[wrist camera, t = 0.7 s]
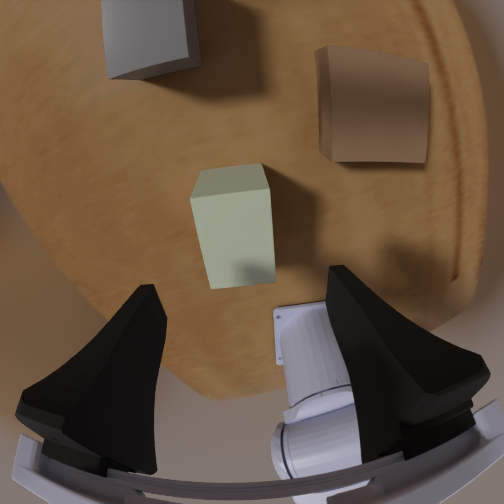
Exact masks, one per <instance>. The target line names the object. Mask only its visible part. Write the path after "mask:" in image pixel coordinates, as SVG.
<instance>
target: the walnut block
mask: <svg viewBox="0 0 504 504" xmlns="http://www.w3.org/2000/svg"><path fill="white" fill-rule="evenodd" d="M315 63H316V76H317V92H318V113H319V149H320V152H321V153H322V154H323V155H324V156H326V157H327V158H328V159H329V160H330V161H332V162H358V161H373V162H412V163H425V161H426V152H427V140H428V126H429V64H427V63H424V62H420V61H416V60H413V59H409V58H404V57H400V56H396V55H391V54H386V53H381V52H375V51H369V50H362V49H355V48H347V47H337V46H326V47H323V48H321V49H319V50H316V51H315Z"/></svg>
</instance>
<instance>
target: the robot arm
mask: <svg viewBox="0 0 504 504" xmlns="http://www.w3.org/2000/svg"><path fill="white" fill-rule="evenodd" d="M273 316H274V332H275V349H276V363H277V365H283V366H284V373H285V379H286V386H287V393H288V399H289V407H290V409H288V410H285V411H283V414H284V422H281V423H279V424H278V425H277V427H276V429H275V431H274V433H273V436H272V440H271V454H272V459H273V464H274V467H275V469H276V471H277V473H278V475H279V477H280V478H281V479H282V480H276V481H265V482H249V483H205V482H189V481H178V480H169V479H161V478H155V477H147V476H142V475H137V474H131V473H128V472H132V473H142V474H148V475H152V474H154V473H155V472H156V471H157V464H156V454H155V441H154V404H155V390H156V383H157V377H158V372H159V368H160V363H161V358H162V353H163V349H164V344H165V339H166V329H167V316H166V314H165V311H164V309H163V306H162V304H161V302H160V299H159V297H158V294H157V292H156V289H155V287H154V284H146V285H140V286H139V287H138V288H137V289H136V290H135V291H134V293H133V294H132V295H131V296H130V297H129V298H128V300H127V301H126V302H125V303H124V304H123V306H122V307H121V308H120V309H119V310H118V311H117V313H116V314H115V315H114V316H113V317H112V318H111V320H110V321H109V322H108V323H107V324H106V325H105V326H104V327H103V328H102V330H101V331H100V332H99V333H98V334H97V335H96V336H95V337H94V338H93V339H92V340H91V341H90V342H89V343H88V344H87V345H86V346H85V347H84V348H83V349H82V350H81V351H79V352H78V353H77V354H76V355H75V356H74V357H72V358H71V359H70V360H69V361H67V362H66V363H65V364H64V365H63V366H61V367H60V368H59V369H57V370H56V371H54V372H53V373H51V374H50V375H49V376H47V377H46V378H44V379H42V380H41V381H39V382H37V383H36V384H34V385H32V386H30V387H28V388H27V389H25V390H23V392H22V395H21V398H20V401H19V404H18V407H17V410H16V413H15V416H16V418H17V419H18V420H19V421H20V422H21V423H23V424H24V425H26V426H27V427H28V428H30V429H31V430H32V431H34V432H35V433H37V434H38V435H40V436H41V437H43V438H44V443H41V442H39V441H37V440H35V439H33V438H31V437H29V436H27V435H24V434H21V436H20V440H19V443H18V447H17V452H16V456H15V461H14V466H13V471H12V479H13V480H15V481H16V482H18V483H19V484H21V485H22V486H24V487H25V488H27V489H28V490H30V491H31V492H33V493H34V494H36V495H37V496H39V497H40V498H42V499H44V500H45V501H47V502H48V503H50V504H180V503H174V502H169V501H164V500H158V499H153V498H147V497H146V496H145V494H144V493H143V492H147V493H153V494H158V495H165V496H173V497H181V498H192V499H205V500H259V499H272V498H282V497H293V499H294V502H295V503H296V504H440V503H442V502H443V501H445V500H446V499H447V498H449V497H451V496H452V495H454V494H455V493H457V492H458V491H459V490H461V489H462V488H463V487H465V486H466V485H468V484H469V483H470V482H471V481H473V480H474V479H475V478H476V477H478V476H479V475H480V474H482V473H483V472H484V471H485V470H487V469H488V468H489V467H490V466H491V465H493V464H494V463H495V462H496V461H498V459H500V458H501V457H502V456H503V455H504V414H503V411H502V409H501V407H500V404H499V402H498V400H497V399H494V400H493V401H491V402H490V403H488V404H487V405H485V406H484V407H482V408H481V409H479V410H478V411H476V412H475V413H473V414H472V412H471V410H470V409H471V408H472V407H473V402H472V400H471V398H472V397H473V396H474V395H475V394H476V393H477V392H478V391H479V390H480V389H481V388H482V387H483V386H484V385H485V384H486V383H487V381H488V380H489V378H490V371H489V369H488V367H487V365H486V364H485V362H484V360H483V358H482V357H481V355H479V354H476V353H474V352H471V351H468V350H465V349H462V348H460V347H458V346H455V345H453V344H451V343H449V342H447V341H445V340H443V339H441V338H439V337H437V336H435V335H433V334H431V333H430V332H428V331H426V330H424V329H423V328H421V327H419V326H418V325H416V324H415V323H413V322H412V321H410V320H409V319H407V318H406V317H404V316H403V315H402V314H400V313H399V312H397V311H396V310H395V309H394V308H392V307H391V306H390V305H388V304H387V303H386V302H385V301H383V300H382V299H381V298H380V297H379V296H378V295H376V294H375V293H374V292H373V291H372V290H371V289H370V288H368V287H367V286H366V285H365V284H364V283H363V282H362V281H361V280H360V279H359V278H357V277H356V276H355V275H354V274H353V273H352V272H351V271H350V270H349V269H348V268H347V267H345V266H344V265H337V266H329V274H328V284H327V293H326V301H322V302H315V303H308V304H301V305H293V306H285V307H278V308H275V309H274V310H273ZM141 491H142V492H141Z"/></svg>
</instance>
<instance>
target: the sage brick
mask: <svg viewBox="0 0 504 504" xmlns="http://www.w3.org/2000/svg"><path fill="white" fill-rule="evenodd" d="M190 201H191V206H192V211H193V215H194V220H195V225H196V229H197V233H198V238H199V242H200V246H201V251H202V255H203V259H204V263H205V267H206V271H207V275H208V279H209V283H210V287H211V289H218V288H228V287H238V286H247V285H256V284H265V283H274V282H276V274H275V257H274V242H273V227H272V212H271V199H270V188H269V185H268V182H267V179H266V176H265V173H264V170H263V167H262V164H261V163H257V164H248V165H239V166H231V167H223V168H215V169H208V170H202V171H201V172H200V175H199V177H198V180H197V182H196V185H195V187H194V189H193V192H192V195H191V197H190Z"/></svg>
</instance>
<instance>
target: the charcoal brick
mask: <svg viewBox="0 0 504 504" xmlns="http://www.w3.org/2000/svg"><path fill="white" fill-rule="evenodd" d="M102 24H103V38H104V49H105V59H106V67H107V75H108V79H122V80H143V79H147V78H150V77H154V76H158V75H162V74H166V73H171V72H175V71H180V70H185V69H190V68H195V67H201V66H202V64H201V56H200V47H199V39H198V30H197V21H196V12H195V2H194V0H102Z"/></svg>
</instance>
